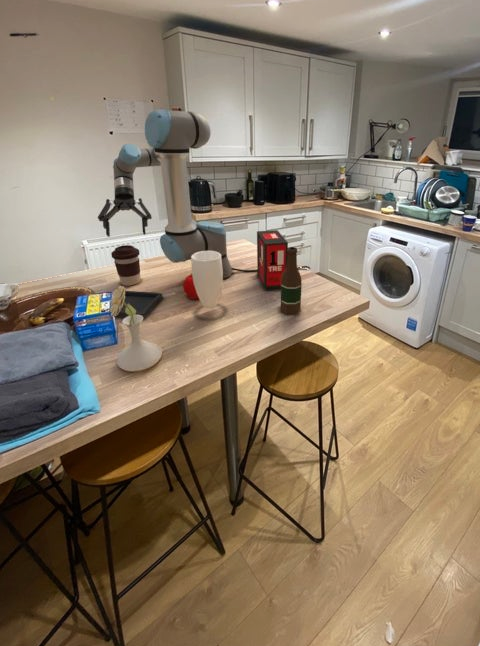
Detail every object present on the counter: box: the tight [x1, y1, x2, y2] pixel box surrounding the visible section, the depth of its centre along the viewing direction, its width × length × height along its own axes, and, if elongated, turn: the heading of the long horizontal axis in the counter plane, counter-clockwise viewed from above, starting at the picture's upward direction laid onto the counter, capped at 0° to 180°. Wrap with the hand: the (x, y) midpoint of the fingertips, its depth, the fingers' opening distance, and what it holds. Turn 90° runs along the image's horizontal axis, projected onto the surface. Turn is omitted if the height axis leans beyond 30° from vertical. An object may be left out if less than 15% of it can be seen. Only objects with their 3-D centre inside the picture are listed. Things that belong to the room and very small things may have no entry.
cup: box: [190, 251, 224, 309], centre depth 114 cm, size 10×10×22 cm
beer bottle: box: [280, 246, 302, 316], centre depth 118 cm, size 8×8×24 cm
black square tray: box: [114, 290, 164, 321], centre depth 119 cm, size 15×15×2 cm
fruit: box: [182, 272, 199, 300], centre depth 127 cm, size 9×9×10 cm
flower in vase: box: [109, 285, 163, 372], centre depth 88 cm, size 13×11×25 cm
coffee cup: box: [110, 244, 141, 287], centre depth 134 cm, size 10×10×15 cm
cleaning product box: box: [256, 229, 289, 291], centre depth 140 cm, size 16×9×20 cm, turn 18°
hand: (126, 234), depth 139 cm, fingers open, 13 cm apart
